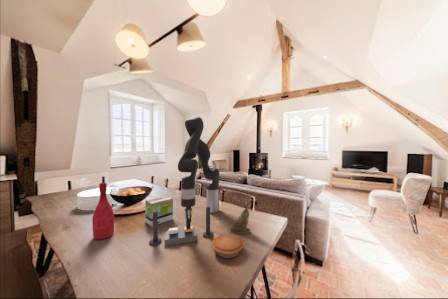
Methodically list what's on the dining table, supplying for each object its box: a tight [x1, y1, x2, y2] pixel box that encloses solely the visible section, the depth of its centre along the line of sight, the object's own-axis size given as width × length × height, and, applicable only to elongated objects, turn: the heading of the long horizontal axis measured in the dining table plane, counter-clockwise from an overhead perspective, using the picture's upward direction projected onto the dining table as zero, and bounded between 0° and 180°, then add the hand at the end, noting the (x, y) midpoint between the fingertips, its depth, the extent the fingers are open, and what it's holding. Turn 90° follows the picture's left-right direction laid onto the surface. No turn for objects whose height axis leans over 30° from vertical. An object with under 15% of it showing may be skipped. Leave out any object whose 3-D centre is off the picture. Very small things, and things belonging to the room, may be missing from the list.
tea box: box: [144, 195, 174, 228], centre depth 112 cm, size 15×10×15 cm
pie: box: [211, 234, 244, 259], centre depth 81 cm, size 15×16×5 cm
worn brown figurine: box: [229, 204, 251, 236], centre depth 98 cm, size 12×6×18 cm, turn 68°
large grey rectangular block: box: [164, 227, 197, 246], centre depth 91 cm, size 16×9×4 cm, turn 105°
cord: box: [148, 211, 162, 247], centre depth 87 cm, size 6×6×16 cm
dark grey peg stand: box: [202, 205, 214, 239], centre depth 94 cm, size 6×6×16 cm
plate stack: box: [76, 187, 119, 211], centre depth 143 cm, size 28×28×12 cm
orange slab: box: [183, 225, 194, 232], centre depth 92 cm, size 4×6×1 cm
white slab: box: [168, 227, 179, 234], centre depth 90 cm, size 4×6×1 cm
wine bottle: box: [91, 182, 115, 240], centre depth 93 cm, size 10×10×30 cm
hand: (188, 228), depth 89 cm, fingers closed
